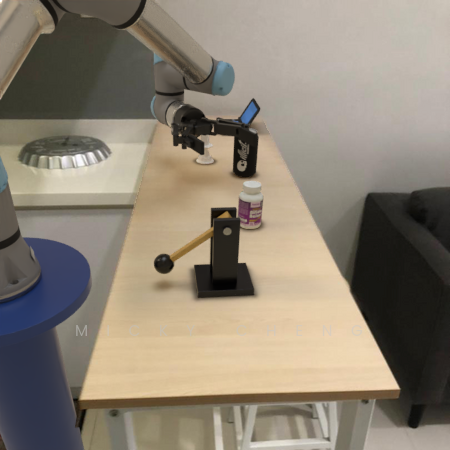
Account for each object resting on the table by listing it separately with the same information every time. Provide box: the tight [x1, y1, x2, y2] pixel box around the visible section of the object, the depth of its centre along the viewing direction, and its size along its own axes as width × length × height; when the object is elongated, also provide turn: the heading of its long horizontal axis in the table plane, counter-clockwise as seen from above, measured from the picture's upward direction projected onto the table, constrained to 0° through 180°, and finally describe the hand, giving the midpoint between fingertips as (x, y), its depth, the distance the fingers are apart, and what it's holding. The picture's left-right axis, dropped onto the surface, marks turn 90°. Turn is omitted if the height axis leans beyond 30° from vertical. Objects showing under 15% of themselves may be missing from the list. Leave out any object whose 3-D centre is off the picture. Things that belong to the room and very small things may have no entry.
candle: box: [195, 135, 215, 165], centre depth 135 cm, size 5×5×12 cm
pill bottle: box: [237, 180, 264, 230], centre depth 102 cm, size 5×5×10 cm
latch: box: [153, 211, 232, 275], centre depth 80 cm, size 16×4×4 cm
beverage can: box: [232, 127, 260, 179], centre depth 127 cm, size 7×7×12 cm
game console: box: [224, 97, 261, 126], centre depth 164 cm, size 16×14×9 cm
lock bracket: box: [193, 206, 255, 298], centre depth 82 cm, size 10×9×14 cm
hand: (229, 144), depth 103 cm, fingers open, 13 cm apart
